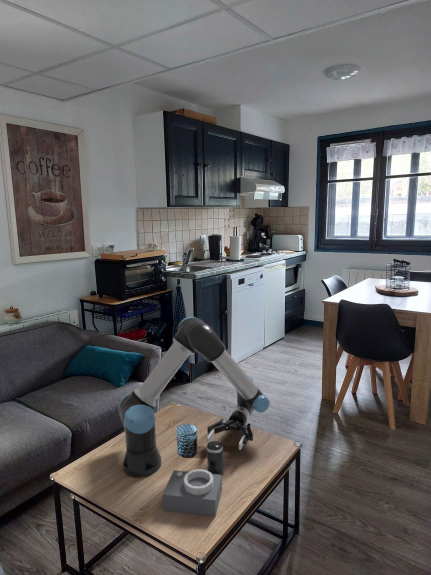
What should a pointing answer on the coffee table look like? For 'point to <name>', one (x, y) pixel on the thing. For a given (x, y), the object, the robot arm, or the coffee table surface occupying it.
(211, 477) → the camera body
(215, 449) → the lens
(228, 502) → the coffee table surface
